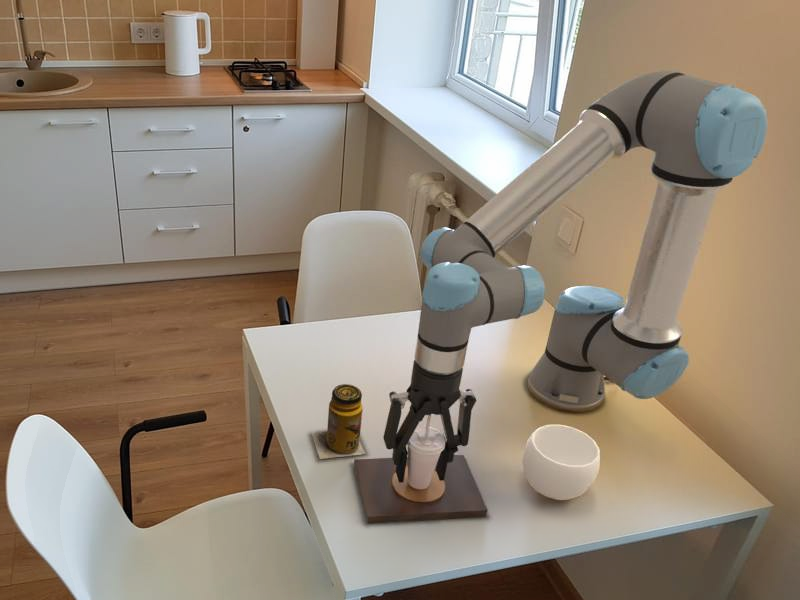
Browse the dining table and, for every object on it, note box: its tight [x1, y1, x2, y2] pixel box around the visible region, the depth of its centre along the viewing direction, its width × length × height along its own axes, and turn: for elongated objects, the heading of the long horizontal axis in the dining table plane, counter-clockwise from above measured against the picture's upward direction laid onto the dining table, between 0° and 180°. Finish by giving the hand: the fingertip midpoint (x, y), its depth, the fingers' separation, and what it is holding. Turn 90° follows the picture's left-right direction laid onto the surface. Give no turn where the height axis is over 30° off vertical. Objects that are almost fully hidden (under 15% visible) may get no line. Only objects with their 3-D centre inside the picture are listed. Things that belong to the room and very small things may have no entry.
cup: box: [522, 424, 601, 501], centre depth 124 cm, size 12×12×10 cm
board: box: [353, 454, 488, 524], centre depth 124 cm, size 20×14×2 cm
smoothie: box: [406, 414, 446, 489], centre depth 119 cm, size 6×6×14 cm
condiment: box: [311, 383, 366, 460], centre depth 130 cm, size 7×8×12 cm
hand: (419, 475), depth 122 cm, fingers closed on smoothie, 6 cm apart
